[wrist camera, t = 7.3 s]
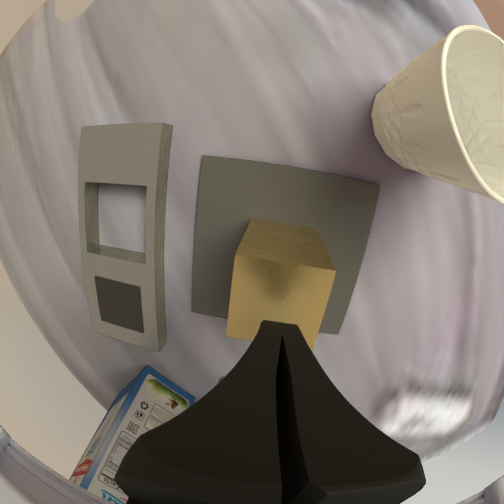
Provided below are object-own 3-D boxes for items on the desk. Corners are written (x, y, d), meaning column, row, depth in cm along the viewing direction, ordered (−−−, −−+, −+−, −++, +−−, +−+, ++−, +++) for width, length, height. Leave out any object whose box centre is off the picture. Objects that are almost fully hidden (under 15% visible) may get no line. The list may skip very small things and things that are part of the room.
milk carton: (147, 364, 24) (61, 526, 6) (196, 397, 25) (141, 561, 7) (117, 395, 28) (51, 513, 9) (156, 421, 29) (106, 542, 10)
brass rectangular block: (303, 286, 19) (312, 349, 13) (243, 277, 20) (226, 336, 13) (316, 228, 18) (336, 270, 11) (251, 218, 18) (235, 254, 12)
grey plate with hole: (166, 339, 23) (158, 352, 21) (103, 321, 23) (93, 331, 21) (172, 125, 17) (161, 122, 15) (95, 127, 17) (80, 126, 15)
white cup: (342, 135, 16) (411, 115, 6) (388, 53, 13) (461, -5, 4) (427, 199, 16) (521, 241, 7) (465, 120, 14) (558, 117, 4)
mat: (337, 332, 21) (338, 334, 21) (192, 309, 21) (191, 311, 21) (378, 184, 17) (379, 185, 16) (203, 155, 17) (202, 155, 17)
